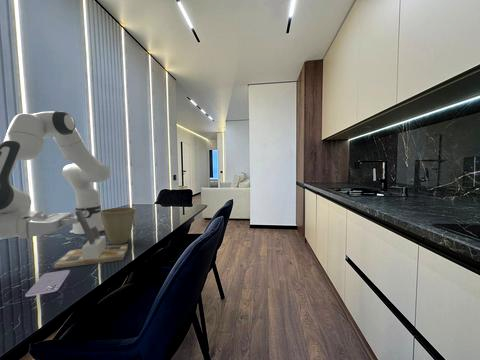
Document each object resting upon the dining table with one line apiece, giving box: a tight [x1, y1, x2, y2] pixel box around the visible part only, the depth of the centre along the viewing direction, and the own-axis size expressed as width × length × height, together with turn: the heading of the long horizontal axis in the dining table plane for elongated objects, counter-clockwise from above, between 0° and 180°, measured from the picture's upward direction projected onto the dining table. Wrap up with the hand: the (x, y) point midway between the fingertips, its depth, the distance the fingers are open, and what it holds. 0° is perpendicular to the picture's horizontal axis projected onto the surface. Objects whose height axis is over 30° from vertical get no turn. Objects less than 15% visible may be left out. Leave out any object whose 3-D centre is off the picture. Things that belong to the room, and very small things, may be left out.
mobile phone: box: [24, 269, 70, 298], centre depth 72 cm, size 8×1×15 cm
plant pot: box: [100, 206, 136, 246], centre depth 110 cm, size 15×15×16 cm
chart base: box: [53, 243, 129, 270], centre depth 92 cm, size 15×22×2 cm
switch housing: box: [81, 235, 107, 260], centre depth 92 cm, size 13×5×5 cm, turn 19°
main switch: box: [74, 210, 96, 244], centre depth 88 cm, size 4×1×14 cm, turn 19°
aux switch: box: [91, 226, 101, 239], centre depth 95 cm, size 4×1×5 cm, turn 19°
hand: (78, 220), depth 87 cm, fingers closed, pressing on main switch
